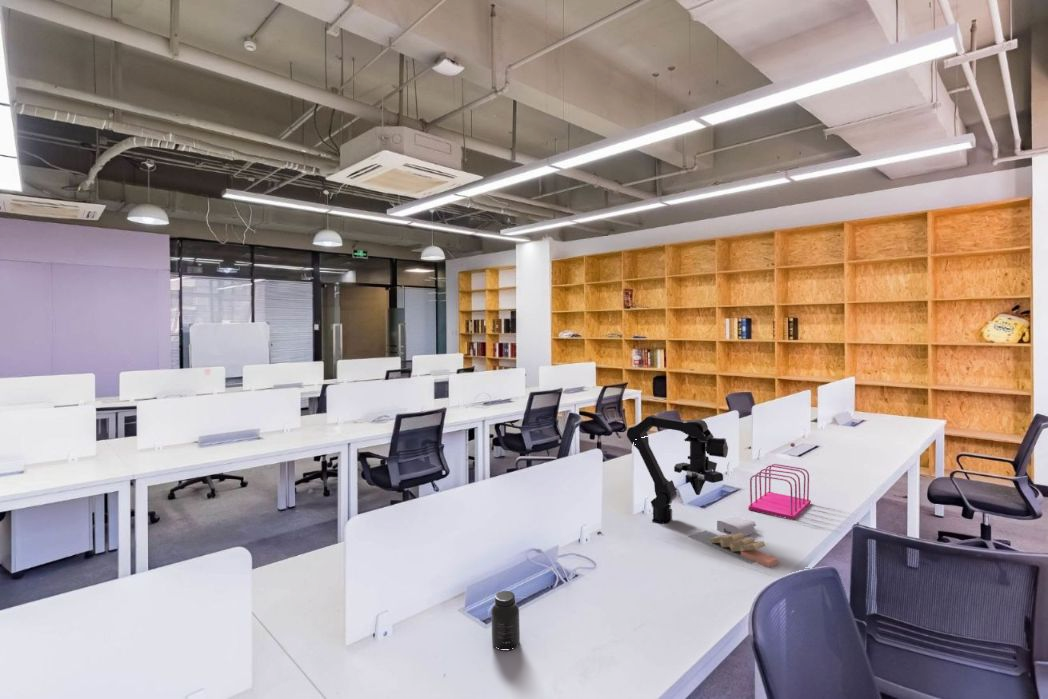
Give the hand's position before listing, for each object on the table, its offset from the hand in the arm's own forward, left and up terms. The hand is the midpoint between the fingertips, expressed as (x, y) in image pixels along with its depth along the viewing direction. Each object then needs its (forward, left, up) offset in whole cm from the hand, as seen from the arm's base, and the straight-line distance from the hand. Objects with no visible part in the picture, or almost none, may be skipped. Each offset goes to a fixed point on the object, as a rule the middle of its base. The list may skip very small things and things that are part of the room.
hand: (697, 494), depth 197 cm
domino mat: (+12, -13, -13) cm, 22 cm away
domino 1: (+8, -11, -12) cm, 18 cm away
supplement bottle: (-28, -95, -13) cm, 100 cm away
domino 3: (+15, -15, -12) cm, 24 cm away
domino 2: (+12, -13, -12) cm, 21 cm away
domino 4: (+18, -17, -12) cm, 27 cm away
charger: (+14, +5, -14) cm, 20 cm away
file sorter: (+26, +40, -13) cm, 49 cm away
